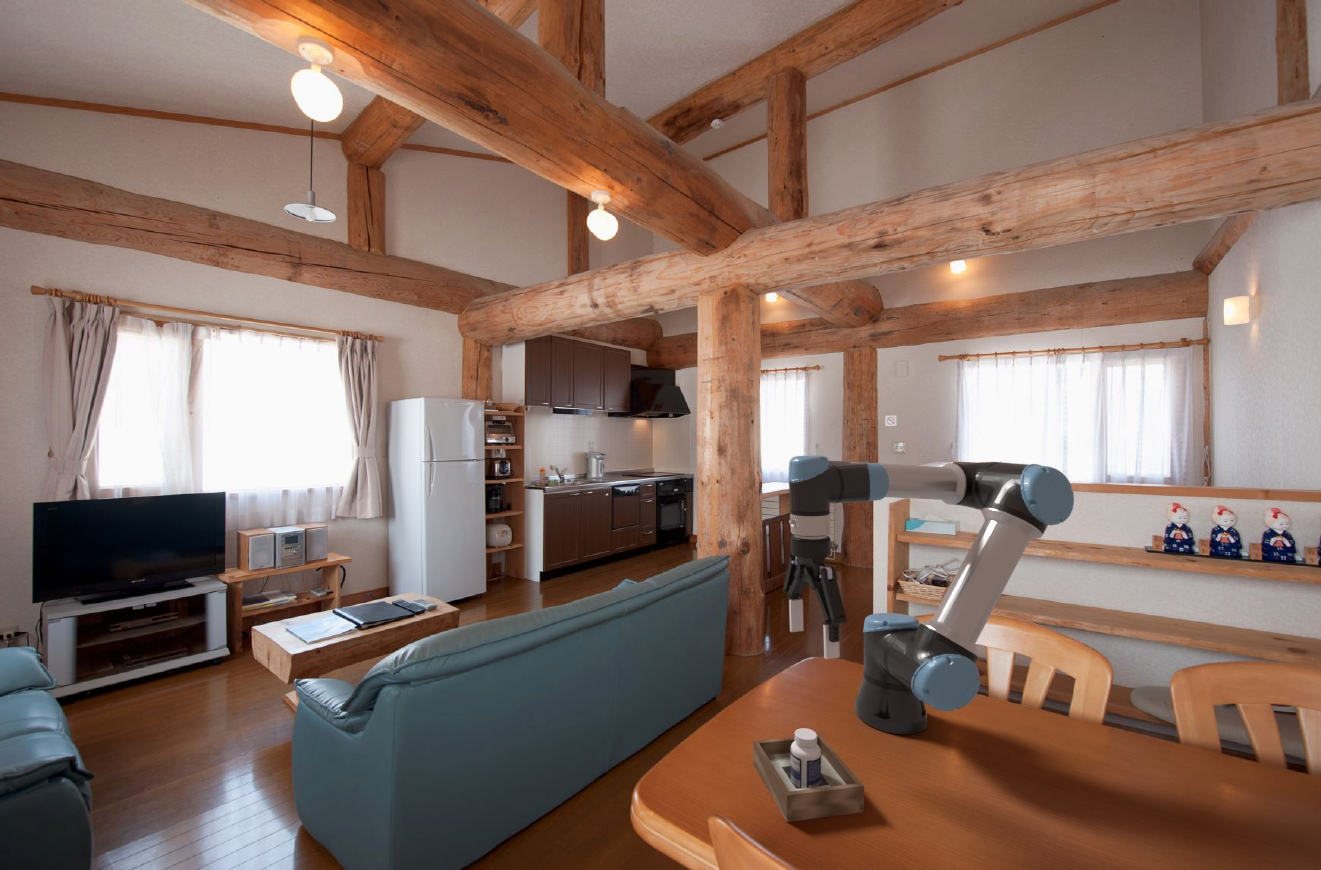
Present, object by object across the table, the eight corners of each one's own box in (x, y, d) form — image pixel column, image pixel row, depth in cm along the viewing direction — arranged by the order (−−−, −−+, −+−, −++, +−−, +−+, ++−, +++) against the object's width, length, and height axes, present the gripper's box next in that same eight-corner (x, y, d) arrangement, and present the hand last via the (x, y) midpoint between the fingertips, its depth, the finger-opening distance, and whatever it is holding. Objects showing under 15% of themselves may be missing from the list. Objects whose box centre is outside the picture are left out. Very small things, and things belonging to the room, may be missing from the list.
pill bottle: (821, 780, 102) (822, 728, 102) (820, 799, 97) (820, 744, 96) (792, 774, 103) (792, 723, 103) (789, 792, 98) (789, 738, 98)
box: (820, 756, 109) (820, 734, 109) (863, 812, 93) (863, 786, 93) (753, 764, 107) (753, 741, 107) (786, 822, 91) (786, 795, 91)
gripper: (765, 525, 117) (768, 623, 118) (826, 550, 93) (829, 673, 93) (797, 523, 119) (800, 619, 119) (865, 547, 95) (868, 668, 95)
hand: (813, 643), depth 106 cm, fingers open, 13 cm apart
